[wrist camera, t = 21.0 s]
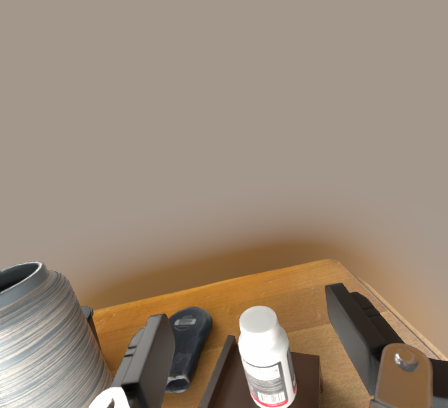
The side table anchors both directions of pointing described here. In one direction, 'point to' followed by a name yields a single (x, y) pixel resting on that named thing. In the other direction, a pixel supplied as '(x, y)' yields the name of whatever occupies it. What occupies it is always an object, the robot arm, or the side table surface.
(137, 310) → the side table surface
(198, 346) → the electronic device
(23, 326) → the vase
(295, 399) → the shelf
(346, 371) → the side table surface
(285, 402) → the pill bottle
